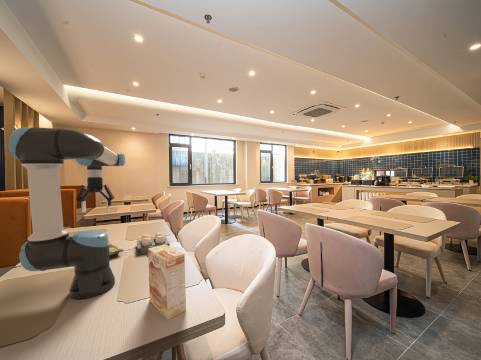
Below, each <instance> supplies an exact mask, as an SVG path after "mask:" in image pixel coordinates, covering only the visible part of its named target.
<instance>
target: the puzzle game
mask: <svg viewBox="0 0 481 360" xmlns="http://www.w3.org/2000/svg"><path fill="white" fill-rule="evenodd" d="M123 251H124V249H122V248H121V247H119V246H117V245H115V244H113V243H111V242H109V258H111V257H114V256H117V255H119V254H121V253H122V252H123Z"/></svg>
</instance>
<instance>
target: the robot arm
mask: <svg viewBox="0 0 481 360" xmlns="http://www.w3.org/2000/svg"><path fill="white" fill-rule="evenodd" d="M8 140H9V141H8V151H9V153H11V156H12V157H13V158H14V159H17V160H19V162H20V165H21V166H22V167H24V168H25V169H26V170H27V172H26V173H27V182H28V191H29V192H28V193H29V204H30V216H31V227H32V234H30V235H29V236H28V237H27V241H26V242H24V244H22V245H21V247H20V251H19V254H18V255H19V256H18V257H19V262H20V265H21V267H22V268H24V269H25V270H27V271H29V272H39V271H40V272H45V271H49V270H57V269H65V268H70V267H71V268H72V267H73V269H74V275H73V278H72V281H71V284H70V287H69V298H71V299H73V300H84V299H89V298H93V297H96V296H100V295H102V294H103V293H106V292H107V291H109V290H111V289H112V288H113V287H114V286H115V283H116V277H115V274H114V273H113V270H112V269H111V265H110V257H109V243H110V241H109V235H108V233H107V232H105V231H102V230H84V231H83V230H82V231H78V232H77V231H76V232H75V233H73V235H72V236H70V232H69V231H70V230H68V229H66V228H64V218H63V207H62V205H63V204H62V193H61V192H62V191H61V180H60V179H61V178H60V168H61V167H63V165H65V163H64V160H75V161H76V162H77V164H79V165H80V166H82V167H86V176H87V178H86V179H87V185H86V184H82V185H81V189H80V191H79V193H78V195H77V197H76V199H75V200H76V201H77V202H79V205H80V208H81V213H82V214H83V213H87V203H86V201H87V200H86V199H87V198H88V197H89V196H90V195H91V194H92V193H100V195H102V196H103V198H105V199H106V201H105V208H106V209H105V210H106V212H110V211H111V206H112V201H113V200H114V199H115V196H114V195H113V193H112V191H111V189H110V187H109V184H103V181H104V180H103V179H104V178H103V167H123V166H125V164H126V156H125V154H124V153H122V152H114V151H112V150H111V149H109V148H108V147H106V146H104V144H103V142H102V141H101V140H100V139H98V138H97V137H94V136H93V135H92V134H91V135H90V134H88V133H85V132H83V131H80V130H76V129H70V128H57V127H56V128H51V127H34V126H33V127H19V128H17V129H15V130H14V131H13V132H12V133H11V134H10V136H9V139H8Z"/></svg>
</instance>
